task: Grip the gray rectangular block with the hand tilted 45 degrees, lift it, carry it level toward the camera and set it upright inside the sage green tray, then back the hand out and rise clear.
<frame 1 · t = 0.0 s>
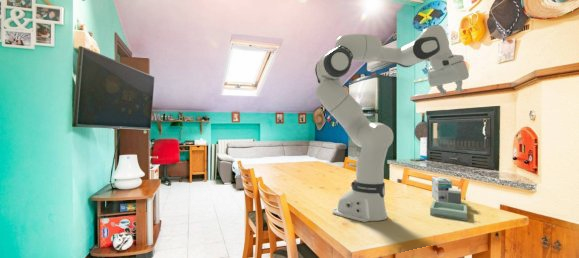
hand: (451, 93, 120), 52 cm above the table, tool tilted 20°, fingers open, 8 cm apart
gray rectangular block: (454, 206, 128), on the table
light bulb box: (441, 199, 140), on the table
tray: (448, 213, 118), on the table
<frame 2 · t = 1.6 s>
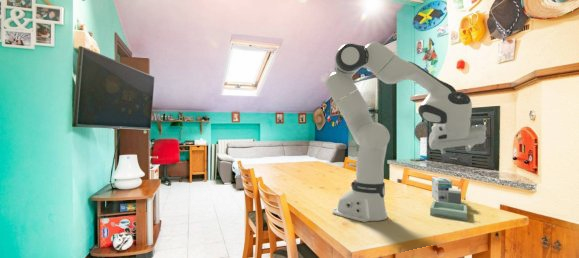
hand: (455, 151, 118), 27 cm above the table, tool tilted 45°, fingers open, 8 cm apart
nothing on the table moved.
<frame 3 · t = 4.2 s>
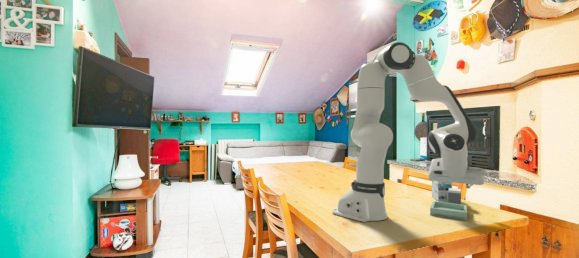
hand: (455, 185, 121), 11 cm above the table, tool tilted 45°, fingers open, 8 cm apart
nothing on the table moved.
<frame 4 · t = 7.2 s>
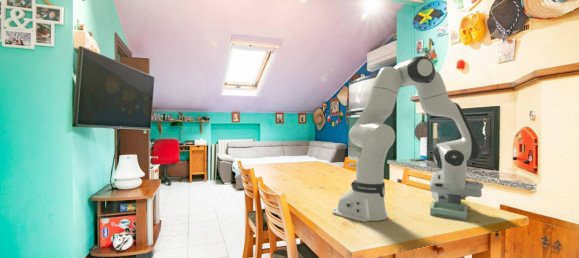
hand: (454, 197, 128), 4 cm above the table, tool tilted 45°, fingers closed on gray rectangular block, 5 cm apart
gray rectangular block: (454, 206, 128), on the table, touching gripper
everything else where it was.
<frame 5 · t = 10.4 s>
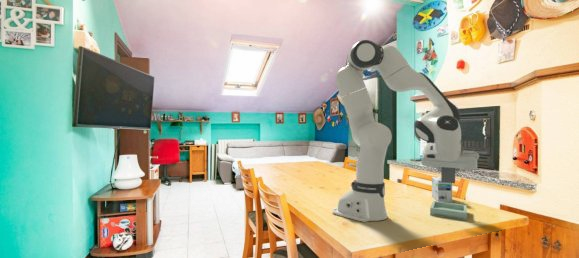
hand: (448, 171, 118), 18 cm above the table, tool tilted 45°, fingers closed on gray rectangular block, 5 cm apart
gray rectangular block: (448, 181, 118), point 14 cm above the table, touching gripper
everything else where it was.
when the fingers open (7 cm above the table, at t = 14.0 s): gray rectangular block drops 1 cm, resting on tray.
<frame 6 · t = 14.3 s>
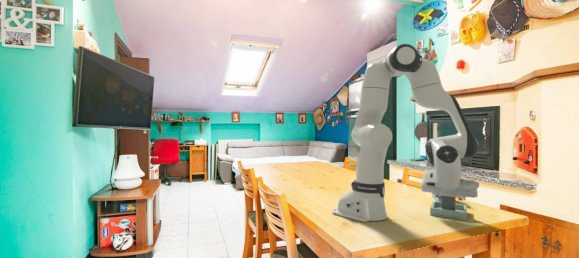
hand: (448, 197, 118), 7 cm above the table, tool tilted 45°, fingers open, 7 cm apart
gray rectangular block: (448, 211, 118), point 1 cm above the table, touching tray
everything else where it was.
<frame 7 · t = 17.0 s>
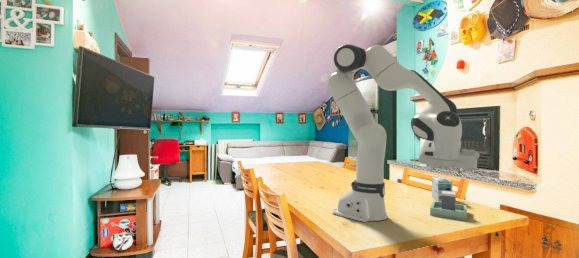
hand: (446, 170, 113), 19 cm above the table, tool tilted 45°, fingers open, 8 cm apart
nothing on the table moved.
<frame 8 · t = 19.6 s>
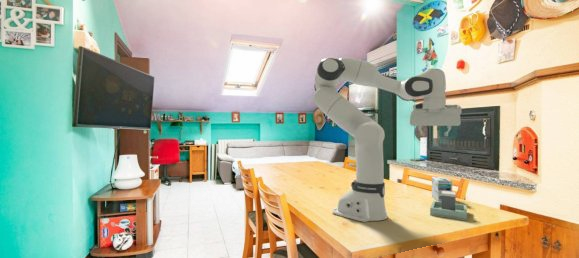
hand: (434, 136, 123), 33 cm above the table, tool pointing down, fingers open, 8 cm apart
nothing on the table moved.
at the end: gray rectangular block 0.1 cm off-centre on the tray, point 1.0 cm above the tray's base; gray rectangular block tilted 0°; the gripper is holding nothing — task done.
